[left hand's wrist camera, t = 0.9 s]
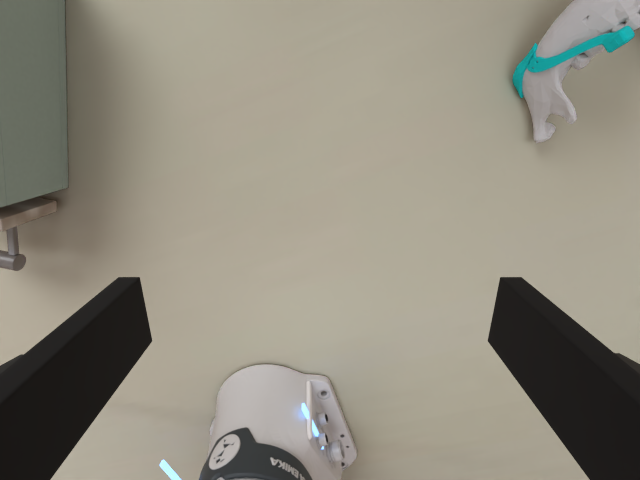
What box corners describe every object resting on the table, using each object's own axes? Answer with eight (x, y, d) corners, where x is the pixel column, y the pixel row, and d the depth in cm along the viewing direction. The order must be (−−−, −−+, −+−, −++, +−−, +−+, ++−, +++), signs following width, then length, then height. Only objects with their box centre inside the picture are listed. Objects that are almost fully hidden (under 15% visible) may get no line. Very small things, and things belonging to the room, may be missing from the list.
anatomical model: (753, -137, 22) (823, 2, 23) (630, -40, 32) (682, 54, 33) (530, 25, 25) (599, 141, 26) (481, 67, 35) (533, 150, 36)
